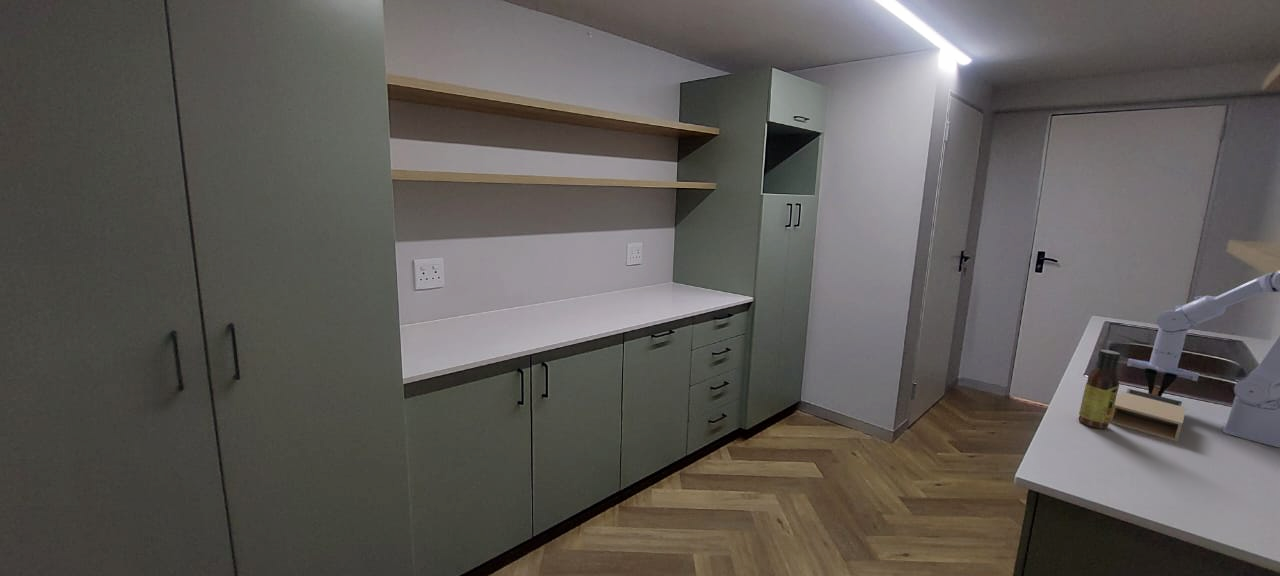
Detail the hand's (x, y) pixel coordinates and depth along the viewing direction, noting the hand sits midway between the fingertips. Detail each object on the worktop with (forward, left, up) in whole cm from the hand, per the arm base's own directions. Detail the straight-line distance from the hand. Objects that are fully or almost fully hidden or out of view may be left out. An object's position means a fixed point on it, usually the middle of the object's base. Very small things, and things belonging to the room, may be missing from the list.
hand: (1154, 396), depth 152 cm
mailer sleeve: (0, +20, -3) cm, 20 cm away
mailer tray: (0, +9, -2) cm, 9 cm away
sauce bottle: (+9, +33, -3) cm, 35 cm away
